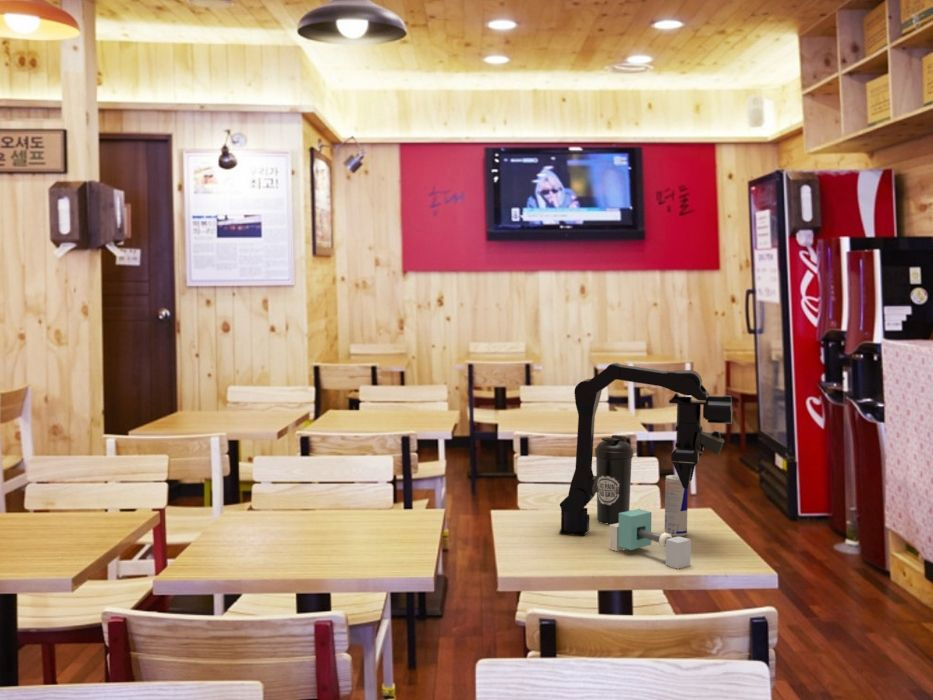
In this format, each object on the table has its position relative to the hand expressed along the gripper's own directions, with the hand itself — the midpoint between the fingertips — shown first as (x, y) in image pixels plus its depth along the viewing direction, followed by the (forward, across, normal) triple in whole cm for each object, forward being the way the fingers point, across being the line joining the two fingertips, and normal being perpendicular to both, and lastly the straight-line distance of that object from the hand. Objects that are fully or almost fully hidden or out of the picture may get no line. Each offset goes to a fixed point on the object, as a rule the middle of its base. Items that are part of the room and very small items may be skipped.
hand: (687, 484), depth 221 cm
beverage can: (+15, +7, +3) cm, 17 cm away
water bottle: (+15, +15, +21) cm, 30 cm away
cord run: (+15, -14, +7) cm, 22 cm away
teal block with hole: (+13, -12, +11) cm, 21 cm away
